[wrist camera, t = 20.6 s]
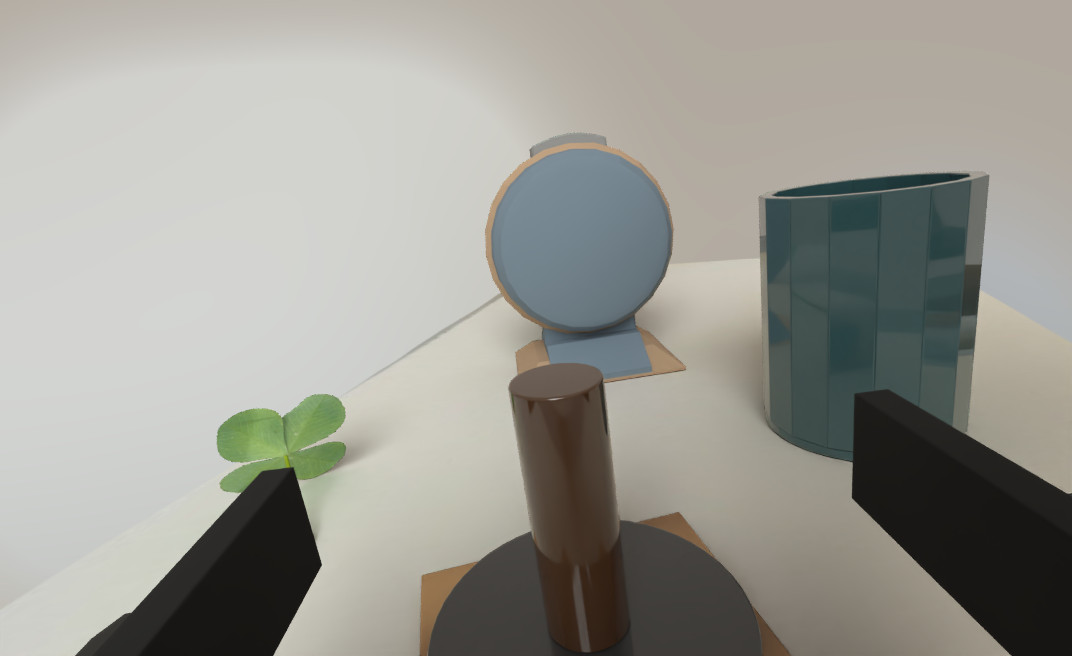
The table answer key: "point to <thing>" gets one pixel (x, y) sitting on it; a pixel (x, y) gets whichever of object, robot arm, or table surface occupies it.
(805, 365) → the jar
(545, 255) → the alarm clock
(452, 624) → the lid
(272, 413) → the seedling
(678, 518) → the mat
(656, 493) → the table surface
